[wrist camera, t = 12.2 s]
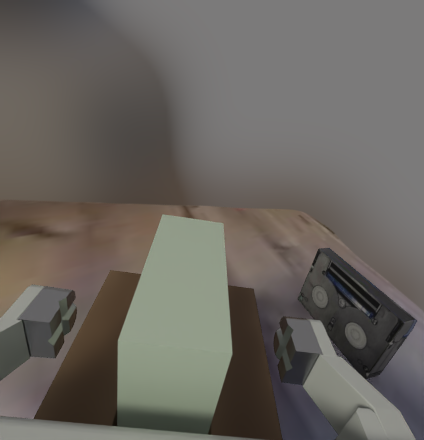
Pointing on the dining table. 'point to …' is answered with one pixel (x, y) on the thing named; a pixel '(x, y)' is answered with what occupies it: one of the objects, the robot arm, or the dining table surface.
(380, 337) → the mini dv tape
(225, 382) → the rack
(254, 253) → the dining table surface
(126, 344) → the tall sage green pillar
